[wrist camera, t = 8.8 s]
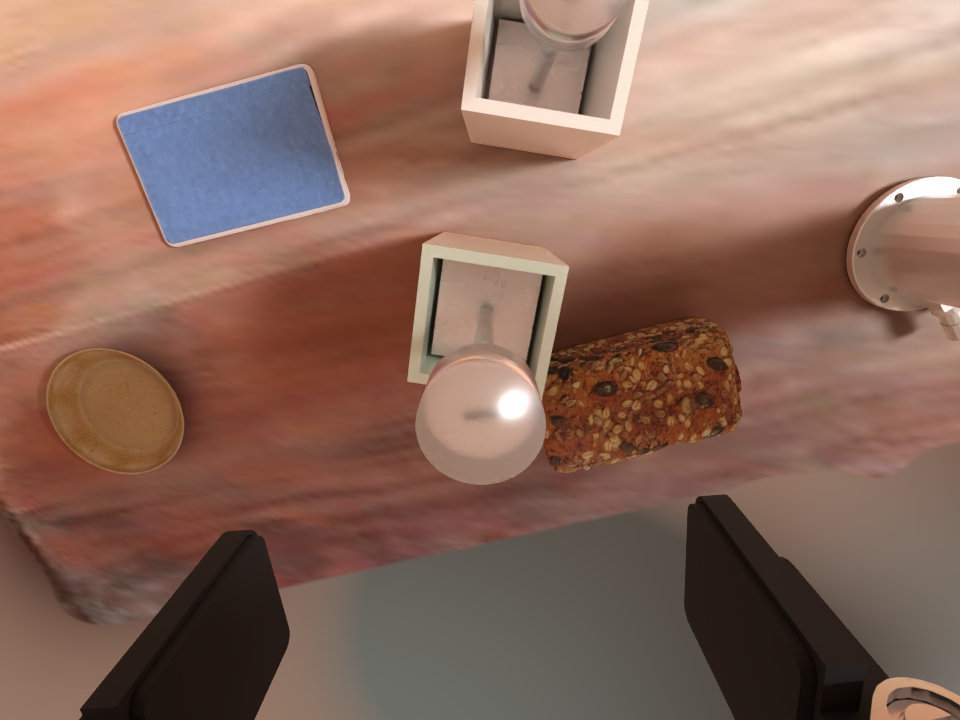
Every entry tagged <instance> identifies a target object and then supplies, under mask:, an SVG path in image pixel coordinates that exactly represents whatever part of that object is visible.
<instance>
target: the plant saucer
mask: <svg viewBox="0 0 960 720" xmlns="http://www.w3.org/2000/svg"><path fill="white" fill-rule="evenodd" d="M46 405H47V410H48V414H49V417H50V419H51V422H52V425H53V427H54V429H55V430H56V432H57V433H58V435H59V436H60V438H61V439H62V440H63V442H64V443H65V444H66V445H67V446H68V447H69V448H70V449H71V450H72V451H73V452H74V453H76V454H77V455H78V456H79V457H81V458H82V459H83V460H85V461H87V462H88V463H90V464H92V465H94V466H96V467H98V468H101V469H104V470H106V471H110V472H114V473H119V474H142V473H146V472H150V471H153V470H155V469H158V468H160V467H161V466H163V465H165V464H166V463H167V462H168V461H169V460H171V459H172V457H173V456H174V455H175V454H176V452H177V451H178V449H179V447H180V445H181V442H182V439H183V434H184V415H183V410H182V406H181V403H180V400H179V398H178V396H177V394H176V392H175V390H174V389H173V387H172V386H171V384H170V383H169V382H168V380H167V379H166V378H165V377H164V376H163V375H162V374H161V373H160V372H159V371H158V370H156V369H155V368H154V367H152V366H151V365H150V364H148V363H147V362H145V361H143V360H141V359H139V358H137V357H135V356H133V355H131V354H128V353H125V352H122V351H119V350H114V349H107V348H89V349H84V350H81V351H77V352H75V353H73V354H71V355H69V356H67V357H66V358H64V359H63V360H62V361H61V362H60V363H59V364H58V365H57V366H56V367H55V369H54V370H53V372H52V374H51V376H50V378H49V381H48V384H47V388H46Z"/></svg>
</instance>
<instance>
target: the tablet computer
mask: <svg viewBox="0 0 960 720" xmlns="http://www.w3.org/2000/svg"><path fill="white" fill-rule="evenodd" d="M116 125H117V128H118V130H119V133H120V135H121V137H122V140H123V142H124V144H125V147H126V149H127V151H128V154H129V156H130V159H131V161H132V163H133V166H134V168H135V171H136V173H137V175H138V178H139V180H140V182H141V185H142V187H143V190H144V192H145V194H146V197H147V199H148V202H149V204H150V206H151V209H152V211H153V214H154V216H155V218H156V221H157V223H158V225H159V228H160V230H161V233H162V235H163V237H164V240H165V241H166V243H167V244H168V245H170V246H172V247H181V246H185V245H189V244H194V243H198V242H202V241H206V240H210V239H214V238H218V237H222V236H226V235H230V234H234V233H238V232H242V231H246V230H250V229H254V228H258V227H262V226H267V225H271V224H275V223H279V222H283V221H287V220H293V219H297V218H300V217H305V216H309V215H312V214H315V213H321V212H325V211H327V210H331V209H335V208H339V207H343V206H346V205H347V204H348V203H349V201H350V193H349V189H348V186H347V183H346V181H345V178H344V173H343V169H342V166H341V162H340V159H339V156H338V153H337V149H336V146H335V142H334V139H333V135H332V132H331V129H330V125H329V122H328V118H327V115H326V112H325V108H324V105H323V101H322V98H321V94H320V91H319V87H318V84H317V80H316V76H315V73H314V71H313V70H312V68H311V67H310V66H308V65H306V64H297V65H293V66H290V67H286V68H283V69H279V70H275V71H271V72H268V73H264V74H261V75H257V76H253V77H250V78H246V79H242V80H238V81H235V82H231V83H228V84H224V85H220V86H216V87H213V88H209V89H206V90H202V91H198V92H195V93H191V94H187V95H184V96H180V97H176V98H173V99H169V100H166V101H162V102H159V103H155V104H152V105H148V106H145V107H141V108H138V109H134V110H131V111H127V112H123V113H121V114H119V115H118V116H117V119H116Z"/></svg>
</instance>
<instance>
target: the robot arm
mask: <svg viewBox="0 0 960 720" xmlns="http://www.w3.org/2000/svg"><path fill="white" fill-rule="evenodd" d="M846 265H847V272H848V276H849V279H850V281H851V284H852V285H853V287H854V288H855V290H856V291H857V293H858V294H859V295H860V296H861V297H862V298H864V299H865V300H866V301H868V302H869V303H871V304H873V305H875V306H878V307H882V308H885V309H889V310H895V311H913V310H918V309H923V308H929V310H930V312H931V314H932V315H934V316H938V317H939V319H940V321H941V323H940V324H941V326H942V328H943V330H944V332H945V334H946V337H947V338H948V339H949V340H952V341H954V340H960V180H959V179H956V178H953V177H945V176H931V177H922V178H917V179H912V180H909V181H906V182H904V183H901V184H899V185H897V186H895V187H893V188H892V189H890V190H888V191H887V192H885V193H884V194H883V195H881V196H880V197H879V198H878V199H876V200H875V201H874V202H873V203H872V204H871V205H870V206H869V207H868V209H867V210H866V211H865V212H864V213H863V215H862V216H861V218H860V219H859V221H858V222H857V224H856V226H855V228H854V230H853V232H852V234H851V237H850V240H849V244H848V248H847V257H846ZM684 606H685V612H686V616H687V620H688V622H689V624H690V626H691V628H692V631H693V633H694V635H695V637H696V639H697V641H698V643H699V645H700V647H701V649H702V651H703V654H704V656H705V657H706V660H707V662H708V664H709V666H710V668H711V670H712V672H713V674H714V677H715V678H716V680H717V683H718V685H719V687H720V689H721V691H722V693H723V695H724V697H725V699H726V702H727V704H728V706H729V708H730V709H731V712H732V714H733V716H734V718H735V720H960V696H958V695H956V694H954V693H952V692H950V691H948V690H946V689H944V688H942V687H940V686H938V685H935V684H931V683H928V682H926V681H922V680H919V679H912V678H904V677H898V678H891V679H890V678H889V677H888V676H887V675H886V673H885V672H884V671H883V670H882V669H881V668H880V666H879V665H878V664H877V663H876V662H875V661H874V659H873V658H872V657H871V656H870V655H869V654H868V652H867V651H866V650H865V649H864V648H863V646H862V645H861V644H860V643H859V642H858V641H857V639H856V638H855V637H854V636H853V635H852V633H851V632H850V631H849V630H848V629H847V628H846V626H845V625H844V624H843V623H842V622H841V621H840V619H839V618H838V617H837V616H836V615H835V613H834V612H833V611H832V610H831V609H830V608H829V606H828V605H827V604H826V603H825V602H824V601H823V599H822V598H821V597H820V596H819V595H818V593H816V591H815V590H814V589H813V588H812V586H811V585H810V584H809V583H808V582H807V581H806V579H805V578H804V577H803V576H802V575H801V574H800V572H799V571H798V570H797V569H796V568H795V566H794V565H793V564H792V563H791V562H790V561H789V560H787V559H785V558H783V557H778V555H777V554H776V553H775V552H774V551H773V549H772V548H771V547H770V546H769V544H768V543H767V542H766V541H765V540H764V538H763V537H762V536H761V535H760V533H759V532H758V531H757V530H756V529H755V527H754V526H753V525H752V524H751V523H750V521H749V520H748V519H747V518H746V517H745V515H744V514H743V513H742V512H741V511H740V509H739V508H738V507H737V506H736V504H735V503H734V502H733V501H732V500H731V498H730V497H728V496H727V495H711V496H699V497H697V499H696V503H695V504H690V505H689V507H688V516H687V543H686V570H685V599H684ZM289 635H290V631H289V626H288V623H287V620H286V615H285V612H284V608H283V605H282V601H281V598H280V594H279V590H278V587H277V583H276V580H275V576H274V572H273V569H272V565H271V562H270V558H269V554H268V551H267V547H266V544H265V541H264V538H263V537H262V536H257V533H256V532H255V531H254V530H239V531H228V532H224V533H223V534H222V535H221V536H220V538H219V539H218V540H217V541H216V542H215V544H214V545H213V546H212V547H211V549H210V550H209V551H208V552H207V554H206V555H205V556H204V557H203V558H202V560H201V561H200V562H199V563H198V565H197V566H196V567H195V568H194V570H193V571H192V572H191V573H190V574H189V576H188V577H187V578H186V579H185V581H184V582H183V583H182V584H181V586H180V587H179V588H178V589H177V590H176V592H175V593H174V594H173V595H172V597H171V598H170V599H169V600H168V602H167V603H166V604H165V605H164V606H163V608H162V609H161V610H160V611H159V613H158V614H157V615H156V616H155V617H154V619H153V620H152V621H151V623H150V624H149V625H148V626H147V627H146V629H145V630H144V631H143V632H142V633H141V635H140V636H139V637H138V638H137V640H136V641H135V642H134V643H133V645H132V646H131V647H130V648H129V650H128V651H127V652H126V653H125V654H124V656H123V657H122V658H121V659H120V661H119V662H118V663H117V664H116V665H115V667H114V668H113V669H112V671H111V672H110V673H109V674H108V675H107V677H106V678H105V679H104V680H103V681H102V683H101V684H100V685H99V686H98V688H97V689H96V690H95V691H94V693H93V694H92V695H91V696H90V697H89V699H88V700H87V701H86V702H85V704H84V705H83V706H82V707H81V709H80V710H81V712H82V717H81V718H80V719H79V720H254V719H255V717H256V715H257V713H258V711H259V708H260V706H261V704H262V702H263V700H264V697H265V695H266V693H267V691H268V689H269V686H270V684H271V682H272V680H273V677H274V675H275V673H276V671H277V669H278V667H279V665H280V662H281V660H282V657H283V656H284V654H285V651H286V649H287V646H288V643H289Z"/></svg>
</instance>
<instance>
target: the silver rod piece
mask: <svg viewBox="0 0 960 720" xmlns="http://www.w3.org/2000/svg"><path fill="white" fill-rule="evenodd" d="M542 276H543V274H537V273H530V272H524V271H518V270H511V269H505V268H498V267H492V266H486V265H479V264H473V263H466V262H460V261H454V260H447V259H443V265H442V273H441V281H440V288H439V296H438V304H437V312H436V320H435V328H434V336H433V344H432V351H431V354H435V355H441V356H444V357H443V358H442V359H441V360H440V361H439V362H438V363H437V364H436V366H435V367H434V369H433V370H432V372H431V374H430V376H429V379H428V381H427V384H426V387H425V390H424V392H423V395H422V398H421V401H420V404H419V407H418V409H417V414H416V421H415V429H416V436H417V440H418V443H419V446H420V448H421V450H422V452H423V454H424V455H425V457H426V458H427V459H428V461H429V462H430V463H431V464H432V465H433V466H434V467H435V468H436V469H438V470H439V471H440V472H441V473H443V474H445V475H446V476H448V477H450V478H452V479H454V480H457V481H460V482H463V483H468V484H476V485H488V484H495V483H499V482H503V481H505V480H508V479H510V478H512V477H514V476H516V475H518V474H519V473H521V472H522V471H524V470H525V469H526V468H527V467H528V466H529V465H530V464H531V463H532V462H533V461H534V459H535V458H536V457H537V455H538V453H539V452H540V449H541V447H542V445H543V442H544V438H545V433H546V419H545V413H544V409H543V405H542V402H541V398H540V394H539V390H538V386H537V383H536V380H535V377H534V375H533V373H532V371H531V370H530V368H529V366H528V365H527V364H526V360H527V354H528V349H529V344H530V339H531V333H532V328H533V323H534V318H535V312H536V307H537V302H538V297H539V292H540V286H541V281H542Z"/></svg>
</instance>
